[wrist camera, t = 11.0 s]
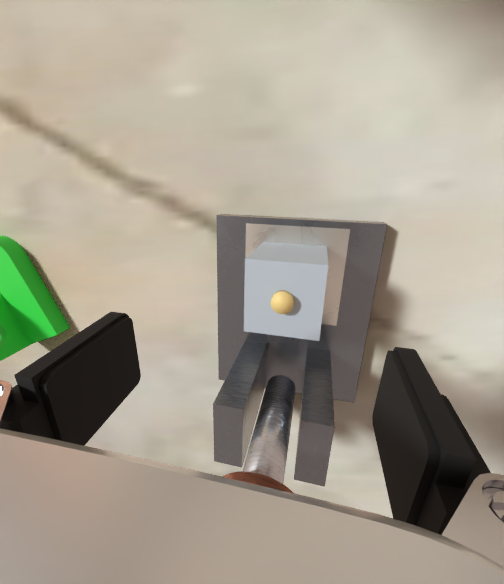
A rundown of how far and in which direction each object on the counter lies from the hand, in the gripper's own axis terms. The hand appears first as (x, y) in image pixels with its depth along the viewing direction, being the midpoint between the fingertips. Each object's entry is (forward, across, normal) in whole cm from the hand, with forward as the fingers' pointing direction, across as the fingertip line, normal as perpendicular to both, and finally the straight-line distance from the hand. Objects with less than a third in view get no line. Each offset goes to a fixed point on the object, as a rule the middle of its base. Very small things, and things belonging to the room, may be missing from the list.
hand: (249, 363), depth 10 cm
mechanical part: (+16, +29, +6) cm, 34 cm away
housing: (+14, 0, +1) cm, 14 cm away
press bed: (+15, 0, +5) cm, 16 cm away
